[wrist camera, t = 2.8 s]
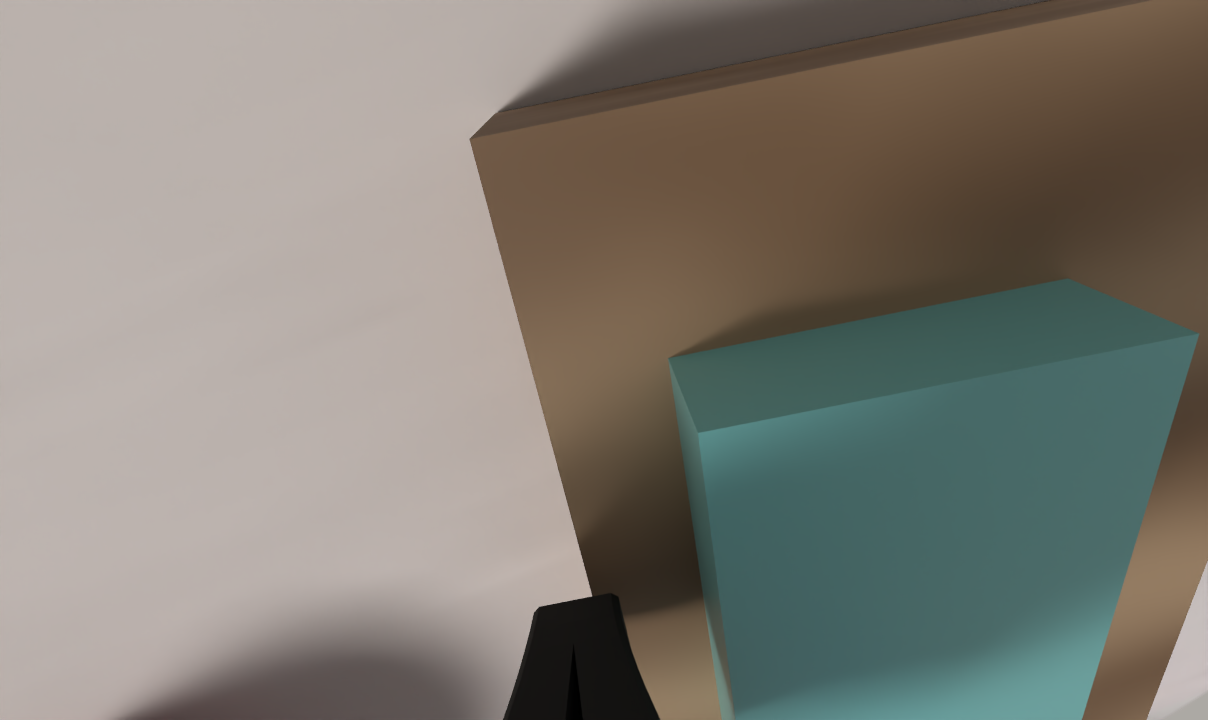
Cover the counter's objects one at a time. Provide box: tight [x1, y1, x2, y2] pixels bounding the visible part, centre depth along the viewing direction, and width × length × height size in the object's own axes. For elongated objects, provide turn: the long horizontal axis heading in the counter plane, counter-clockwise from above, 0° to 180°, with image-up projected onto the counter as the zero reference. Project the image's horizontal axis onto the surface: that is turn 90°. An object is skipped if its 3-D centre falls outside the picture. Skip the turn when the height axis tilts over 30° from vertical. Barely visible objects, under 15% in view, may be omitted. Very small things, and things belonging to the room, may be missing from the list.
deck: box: [470, 0, 1208, 720], centre depth 13 cm, size 16×12×4 cm
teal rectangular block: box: [668, 278, 1199, 720], centre depth 10 cm, size 9×6×2 cm, turn 10°
